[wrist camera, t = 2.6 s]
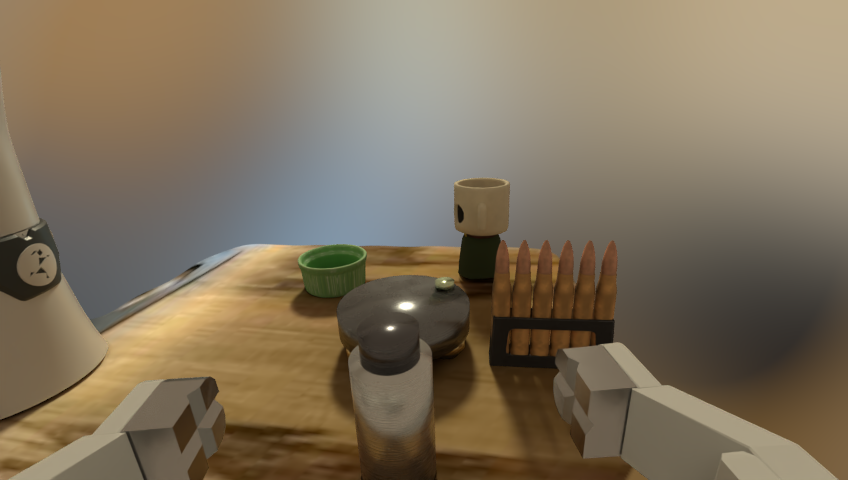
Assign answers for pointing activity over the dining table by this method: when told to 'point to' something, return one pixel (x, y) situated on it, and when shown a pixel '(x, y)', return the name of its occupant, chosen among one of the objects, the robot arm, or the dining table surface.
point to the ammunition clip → (550, 306)
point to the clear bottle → (393, 399)
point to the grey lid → (410, 310)
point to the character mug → (480, 223)
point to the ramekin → (333, 269)
